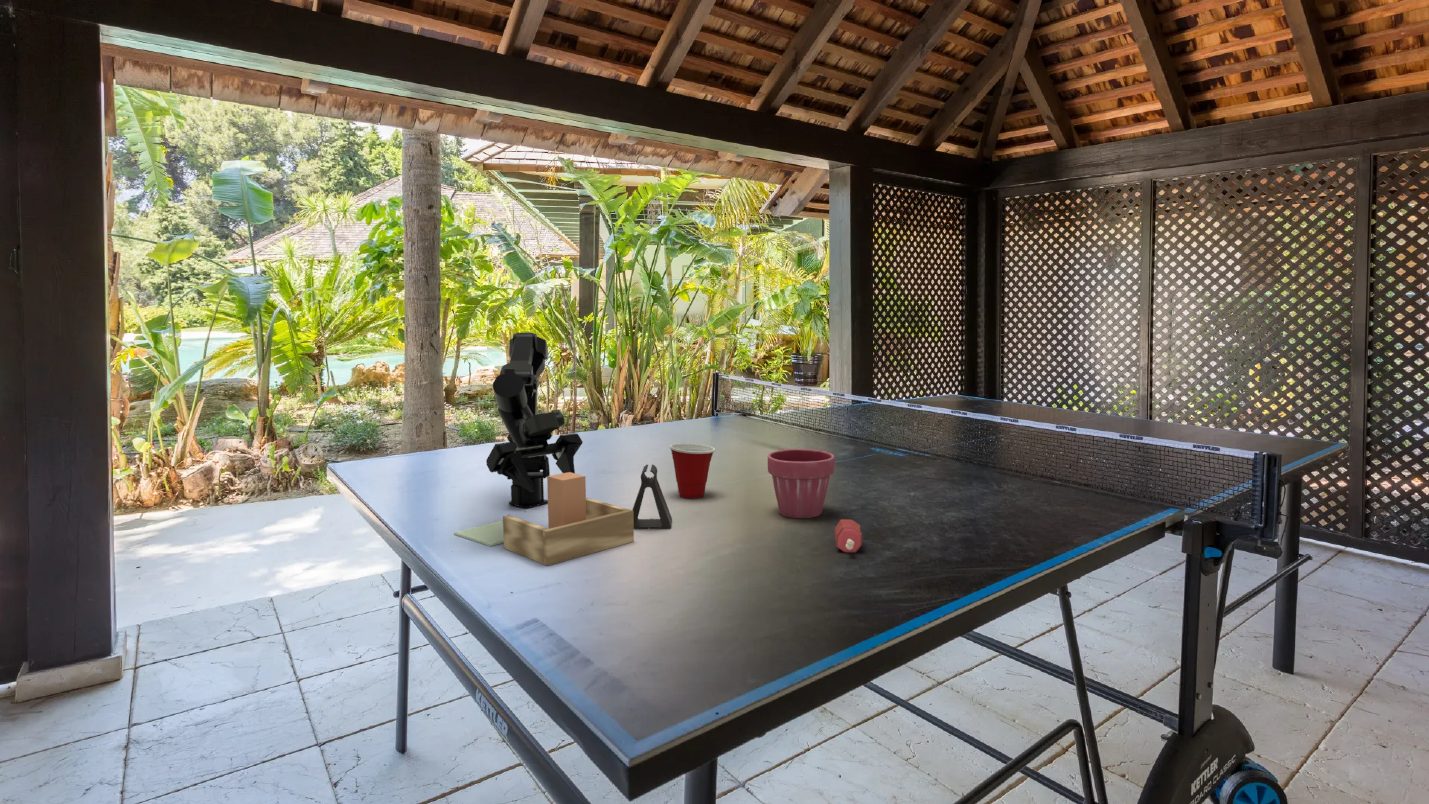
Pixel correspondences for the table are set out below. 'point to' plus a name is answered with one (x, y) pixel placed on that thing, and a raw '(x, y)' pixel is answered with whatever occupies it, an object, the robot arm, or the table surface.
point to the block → (566, 499)
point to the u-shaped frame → (571, 534)
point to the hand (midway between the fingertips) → (554, 486)
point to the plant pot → (800, 480)
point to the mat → (485, 534)
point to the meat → (848, 536)
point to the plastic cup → (691, 468)
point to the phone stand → (660, 501)
